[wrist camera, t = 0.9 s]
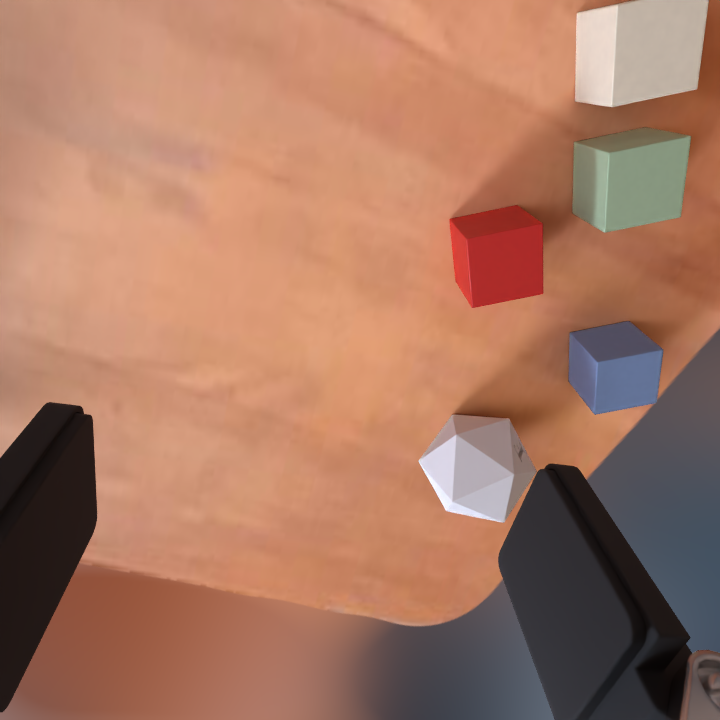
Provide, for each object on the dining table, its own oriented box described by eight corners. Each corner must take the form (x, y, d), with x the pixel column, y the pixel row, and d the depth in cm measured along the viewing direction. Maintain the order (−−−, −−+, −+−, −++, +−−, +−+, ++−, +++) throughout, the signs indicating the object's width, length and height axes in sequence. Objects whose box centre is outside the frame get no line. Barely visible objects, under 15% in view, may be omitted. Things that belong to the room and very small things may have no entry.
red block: (449, 218, 37) (466, 238, 33) (517, 204, 37) (543, 223, 33) (455, 282, 40) (472, 308, 36) (519, 269, 40) (543, 294, 35)
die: (500, 470, 51) (575, 486, 42) (432, 524, 48) (497, 555, 39) (460, 396, 50) (529, 396, 41) (388, 447, 47) (445, 460, 38)
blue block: (569, 332, 43) (597, 362, 39) (629, 320, 43) (664, 349, 38) (568, 381, 45) (594, 415, 41) (624, 370, 45) (656, 403, 41)
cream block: (576, 12, 32) (616, 4, 27) (657, -6, 31) (711, -17, 27) (574, 101, 34) (611, 107, 30) (649, 85, 34) (698, 89, 30)
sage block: (573, 141, 35) (608, 152, 31) (646, 126, 35) (692, 135, 31) (571, 213, 38) (604, 233, 34) (639, 199, 38) (681, 217, 33)
